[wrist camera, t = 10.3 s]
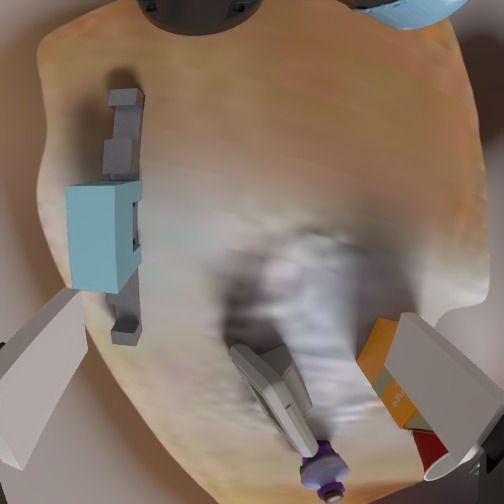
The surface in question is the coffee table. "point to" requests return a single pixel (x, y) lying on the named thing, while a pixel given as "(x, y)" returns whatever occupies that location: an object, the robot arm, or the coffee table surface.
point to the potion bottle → (325, 473)
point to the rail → (127, 168)
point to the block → (102, 234)
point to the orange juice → (389, 378)
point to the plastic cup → (433, 455)
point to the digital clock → (278, 392)
